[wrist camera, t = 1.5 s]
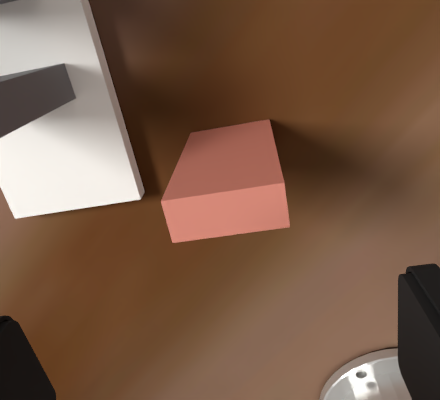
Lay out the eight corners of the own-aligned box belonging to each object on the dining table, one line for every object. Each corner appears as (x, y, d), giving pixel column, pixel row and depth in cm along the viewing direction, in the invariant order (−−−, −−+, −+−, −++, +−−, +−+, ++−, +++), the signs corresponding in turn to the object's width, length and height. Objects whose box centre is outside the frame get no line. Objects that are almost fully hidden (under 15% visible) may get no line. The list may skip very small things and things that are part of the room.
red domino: (273, 149, 25) (290, 227, 16) (197, 162, 26) (172, 242, 17) (269, 119, 24) (284, 182, 15) (190, 132, 25) (160, 201, 16)
